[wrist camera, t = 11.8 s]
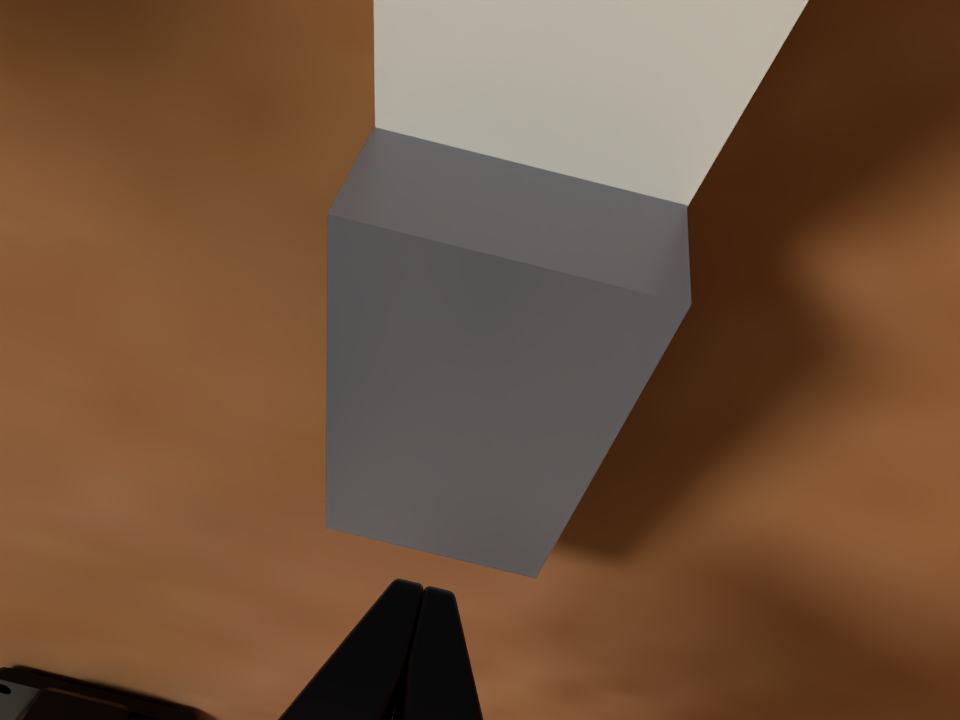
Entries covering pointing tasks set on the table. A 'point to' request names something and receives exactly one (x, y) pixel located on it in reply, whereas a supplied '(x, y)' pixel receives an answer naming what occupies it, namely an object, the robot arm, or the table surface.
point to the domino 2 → (485, 344)
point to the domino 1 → (579, 81)
